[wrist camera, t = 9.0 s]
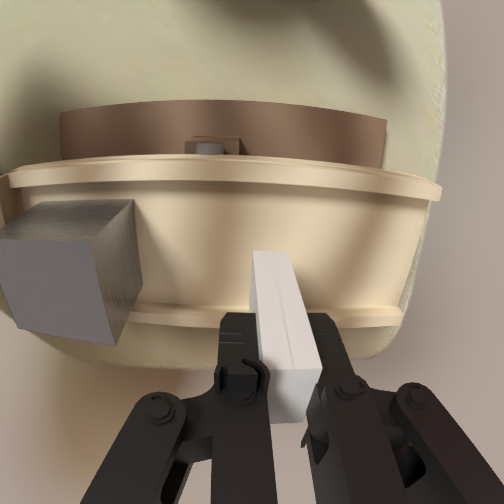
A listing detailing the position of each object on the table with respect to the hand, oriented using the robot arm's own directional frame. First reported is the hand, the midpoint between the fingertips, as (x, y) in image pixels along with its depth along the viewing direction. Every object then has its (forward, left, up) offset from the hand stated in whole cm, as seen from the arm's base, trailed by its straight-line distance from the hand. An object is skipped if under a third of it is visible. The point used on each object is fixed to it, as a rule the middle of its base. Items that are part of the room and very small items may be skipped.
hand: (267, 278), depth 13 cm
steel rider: (-10, 0, -3) cm, 10 cm away
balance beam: (-3, 0, -4) cm, 5 cm away
